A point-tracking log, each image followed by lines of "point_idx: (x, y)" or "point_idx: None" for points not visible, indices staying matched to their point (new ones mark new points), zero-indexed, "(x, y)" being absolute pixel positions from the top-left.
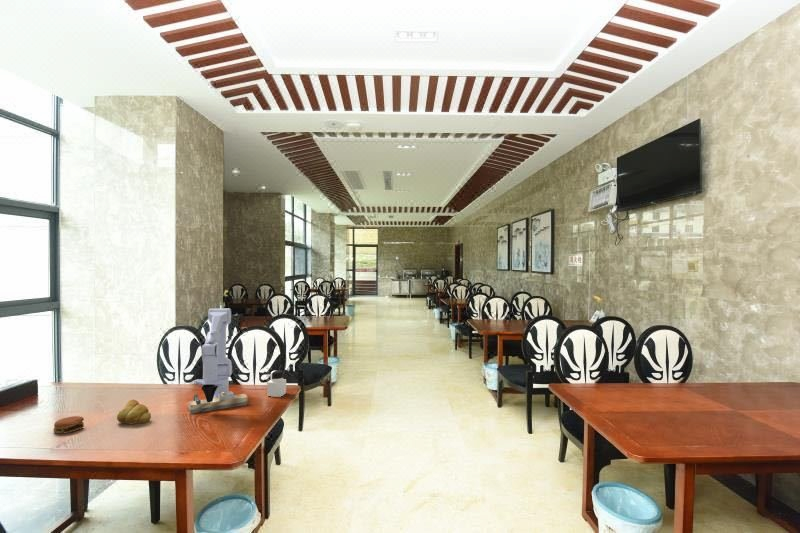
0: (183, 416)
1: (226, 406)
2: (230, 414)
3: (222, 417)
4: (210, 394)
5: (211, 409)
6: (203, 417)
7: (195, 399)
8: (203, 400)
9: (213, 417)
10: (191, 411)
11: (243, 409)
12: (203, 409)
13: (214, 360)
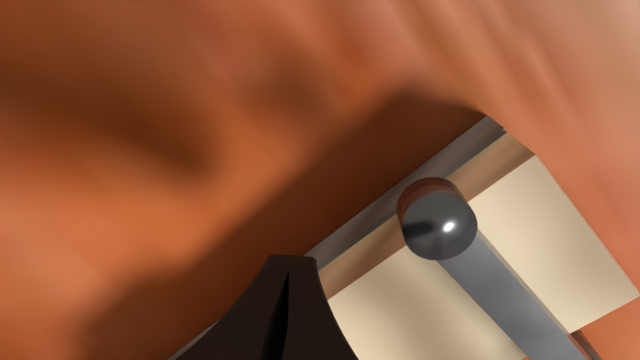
0: (527, 6)
1: None
2: (18, 173)
3: (16, 65)
4: (203, 337)
5: (310, 255)
6: (240, 20)
7: (546, 310)
8: (459, 356)
9: (119, 44)
10: (486, 131)
11: (24, 315)
12: (373, 214)
13: None
